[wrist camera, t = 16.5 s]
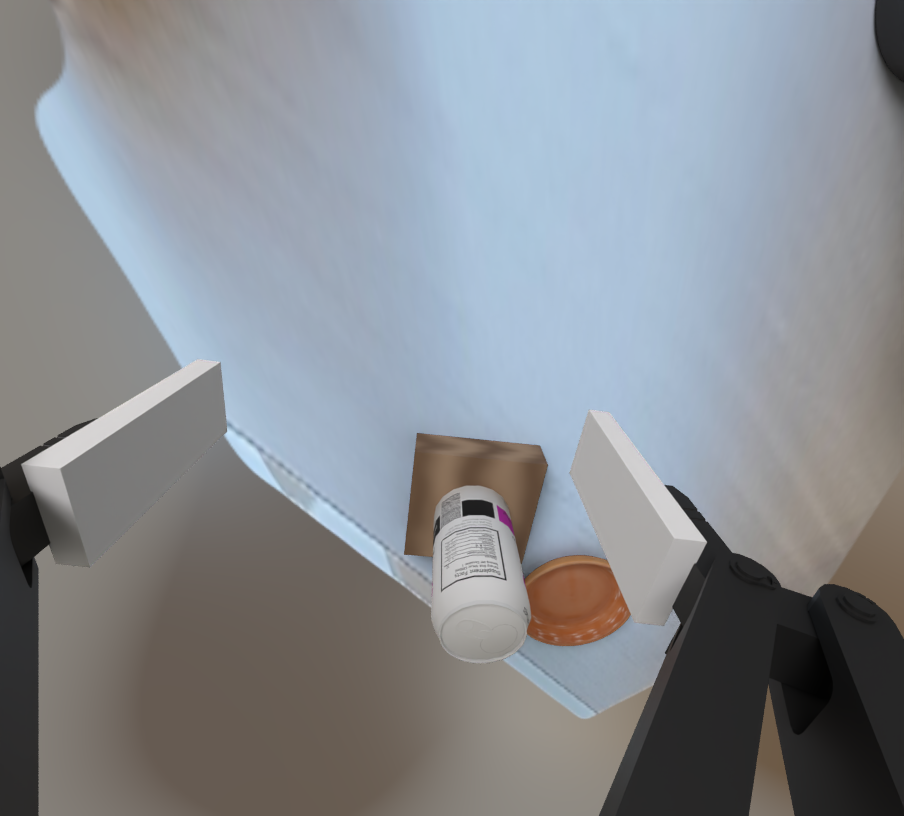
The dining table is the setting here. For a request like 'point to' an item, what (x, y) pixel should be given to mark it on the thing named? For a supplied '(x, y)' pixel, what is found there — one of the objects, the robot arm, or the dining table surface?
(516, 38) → the dining table surface
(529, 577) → the saucer
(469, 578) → the supplement can
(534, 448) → the podium
